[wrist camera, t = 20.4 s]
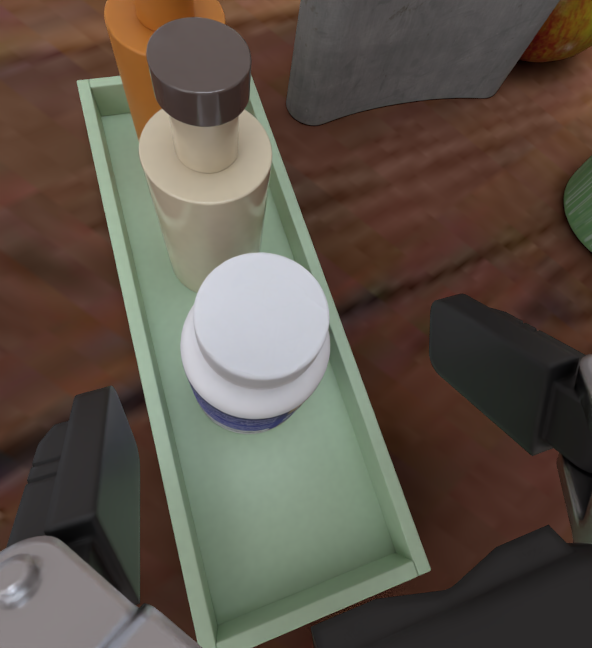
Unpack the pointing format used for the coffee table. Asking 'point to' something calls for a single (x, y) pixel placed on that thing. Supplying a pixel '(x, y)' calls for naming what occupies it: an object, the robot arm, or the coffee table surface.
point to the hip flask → (404, 52)
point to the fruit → (562, 32)
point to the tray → (251, 449)
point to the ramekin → (580, 203)
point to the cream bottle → (204, 147)
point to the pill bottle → (256, 341)
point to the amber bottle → (131, 43)
